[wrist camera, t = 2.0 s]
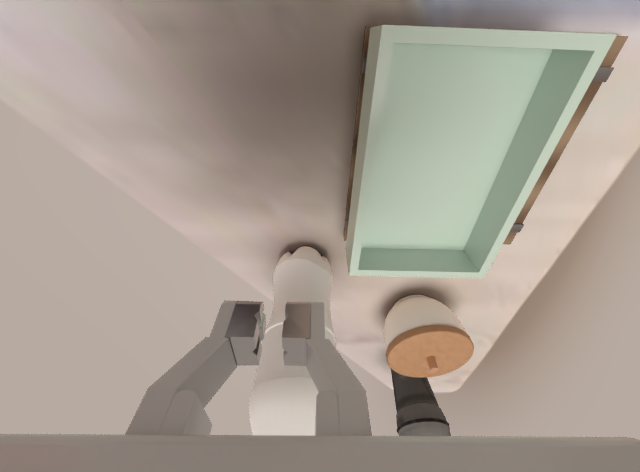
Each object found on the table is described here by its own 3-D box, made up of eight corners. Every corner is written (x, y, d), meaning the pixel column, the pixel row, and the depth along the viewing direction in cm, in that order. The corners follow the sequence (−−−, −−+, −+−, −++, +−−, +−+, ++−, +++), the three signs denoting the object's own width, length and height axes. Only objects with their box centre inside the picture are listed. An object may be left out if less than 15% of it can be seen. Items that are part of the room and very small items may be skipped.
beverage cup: (387, 339, 45) (427, 507, 29) (429, 342, 45) (491, 508, 29) (376, 362, 49) (405, 520, 33) (415, 364, 50) (462, 521, 33)
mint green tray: (367, 28, 20) (382, 24, 15) (550, 36, 20) (617, 34, 15) (344, 242, 31) (348, 275, 27) (460, 244, 31) (483, 278, 27)
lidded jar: (403, 337, 45) (421, 398, 37) (362, 308, 40) (372, 370, 33) (463, 307, 40) (496, 369, 33) (423, 271, 36) (451, 332, 28)
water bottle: (343, 262, 35) (377, 570, 14) (304, 289, 38) (288, 576, 17) (303, 230, 32) (277, 562, 11) (265, 261, 35) (189, 571, 14)
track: (365, 26, 21) (367, 25, 20) (618, 36, 21) (632, 36, 20) (343, 236, 32) (344, 242, 31) (506, 240, 33) (511, 245, 32)
